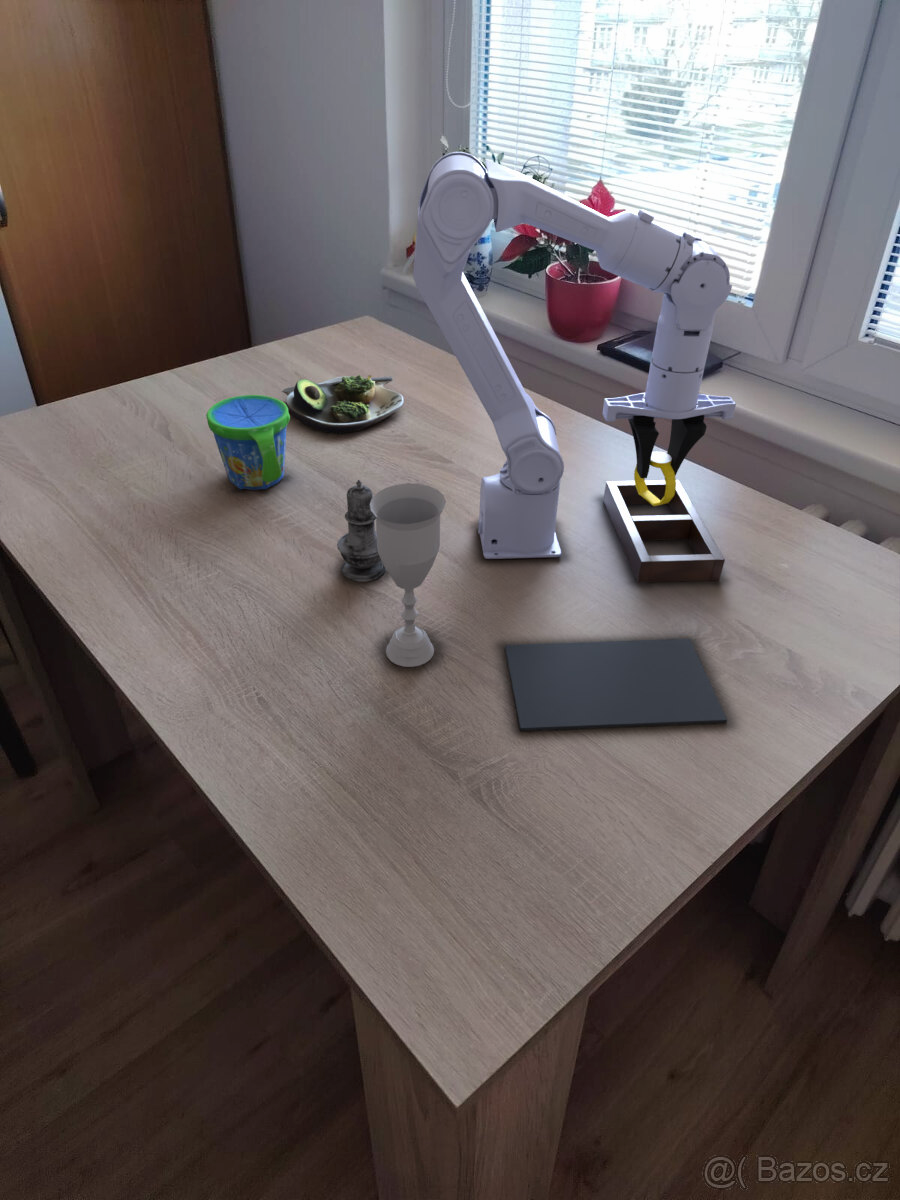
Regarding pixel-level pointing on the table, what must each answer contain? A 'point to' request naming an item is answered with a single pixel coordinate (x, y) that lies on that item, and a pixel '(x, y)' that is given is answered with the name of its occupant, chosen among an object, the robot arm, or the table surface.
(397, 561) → the chalice
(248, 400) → the snack cup
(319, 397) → the avocado toast plate
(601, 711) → the mat
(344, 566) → the salt shaker
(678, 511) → the compartment tray
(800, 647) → the table surface
